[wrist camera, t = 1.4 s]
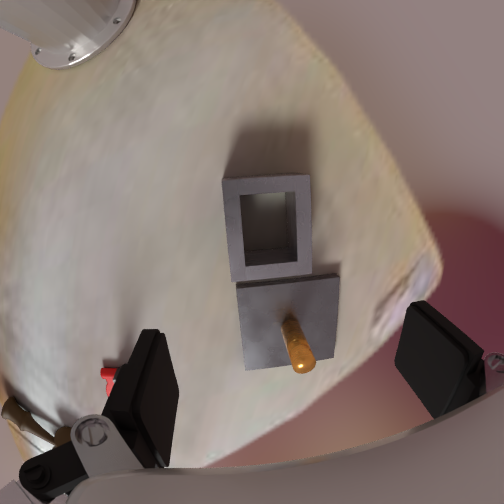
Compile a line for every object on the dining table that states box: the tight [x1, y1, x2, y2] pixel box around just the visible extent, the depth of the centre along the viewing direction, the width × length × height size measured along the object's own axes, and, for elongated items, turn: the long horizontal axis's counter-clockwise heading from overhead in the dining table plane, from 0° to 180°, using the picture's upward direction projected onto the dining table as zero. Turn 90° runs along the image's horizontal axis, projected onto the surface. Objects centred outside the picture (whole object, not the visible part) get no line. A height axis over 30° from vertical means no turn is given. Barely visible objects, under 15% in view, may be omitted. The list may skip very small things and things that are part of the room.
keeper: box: [236, 274, 340, 374], centre depth 26 cm, size 10×10×7 cm
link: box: [222, 173, 312, 282], centre depth 24 cm, size 8×7×4 cm
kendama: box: [1, 397, 72, 449], centre depth 31 cm, size 6×10×20 cm
